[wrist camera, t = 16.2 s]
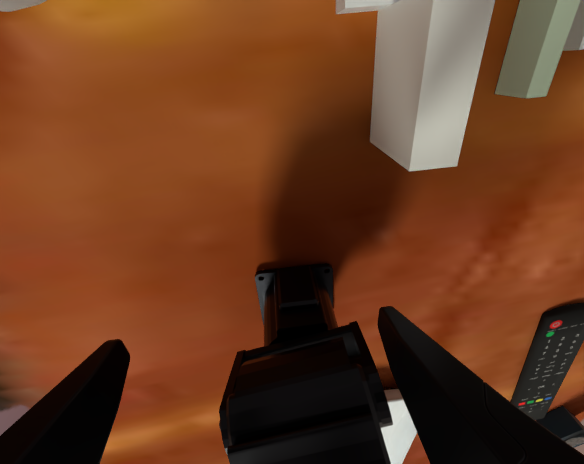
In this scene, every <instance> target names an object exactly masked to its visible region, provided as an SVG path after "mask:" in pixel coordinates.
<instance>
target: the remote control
mask: <svg viewBox="0 0 584 464" xmlns="http://www.w3.org/2000/svg"><path fill="white" fill-rule="evenodd" d="M583 341H584V303H576V304H569V305H565V306H562V307H558V308H555V309H552V310H550V311H547V312H545V313H544V314H543V315H542V317H541V320H540V323H539V326H538V328H537V331H536V334H535V337H534V339H533V342H532V345H531V348H530V350H529V353H528V356H527V359H526V361H525V364H524V367H523V370H522V372H521V375H520V378H519V381H518V383H517V386H516V389H515V392H514V394H513V397H512V400H511V403H512V404H513V405H515V406H516V407H517V408H519V409H520V410H521V411H523V412H524V413H525V414H527V415H528V416H529V417H531V418H532V419H534V420H537V419H542V418H544V417H545V415H546V413H547V411H548V409H549V407H550V405H551V403H552V401H553V399H554V397H555V395H556V394H557V392H558V390H559V388H560V386H561V384H562V382H563V380H564V378H565V376H566V374H567V372H568V370H569V368H570V366H571V364H572V362H573V360H574V358H575V356H576V355H577V353H578V351H579V349H580V347H581V345H582V343H583Z"/></svg>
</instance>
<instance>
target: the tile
mask: <svg viewBox="0 0 584 464" xmlns="http://www.w3.org/2000/svg"><path fill="white" fill-rule="evenodd" d="M582 49H584V0H581V1H580V3H579V6H578V9H577V12H576V15H575V17H574V20H573V23H572V26H571V29H570V31H569V34H568V37H567V40H566V42H565V45H564V48H563V51H568V50H582Z"/></svg>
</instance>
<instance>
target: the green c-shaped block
mask: <svg viewBox="0 0 584 464" xmlns="http://www.w3.org/2000/svg"><path fill="white" fill-rule="evenodd" d="M580 1H581V0H520V2H519V6H518V10H517V13H516V17H515V21H514V24H513V28H512V32H511V35H510V39H509V43H508V46H507V50H506V54H505V57H504V61H503V65H502V68H501V72H500V76H499V79H498V83H497V87H496V91H495V94H498V95H505V96H512V97H519V98H535V97H546V95H547V93H548V90H549V87H550V84H551V81H552V79H553V76H554V73H555V70H556V68H557V65H558V62H559V59H560V56H561V54H562V51H563V48H564V45H565V42H566V40H567V37H568V34H569V31H570V29H571V26H572V23H573V20H574V17H575V15H576V12H577V9H578V6H579V3H580Z"/></svg>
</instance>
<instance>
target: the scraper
mask: <svg viewBox="0 0 584 464" xmlns="http://www.w3.org/2000/svg"><path fill="white" fill-rule="evenodd" d="M494 3H495V0H336V14H344V13H355V12H366V11H377V10H378V17H377V33H376V49H375V65H374V81H373V98H372V114H371V130H370V142H371V143H372V144H373V145H375V146H376V147H377V148H379V149H380V150H381V151H383V152H384V153H385V154H387V155H388V156H389V157H391V158H392V159H393V160H395V161H396V162H397V163H399V164H400V165H401V166H403V167H404V168H405V169H407V170H408V171H418V170H427V169H436V168H445V167H454V166H457V163H458V159H459V155H460V150H461V146H462V142H463V137H464V133H465V129H466V124H467V120H468V116H469V111H470V107H471V103H472V98H473V94H474V90H475V85H476V81H477V77H478V72H479V68H480V64H481V59H482V55H483V51H484V46H485V42H486V38H487V33H488V29H489V25H490V20H491V16H492V12H493V7H494Z"/></svg>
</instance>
